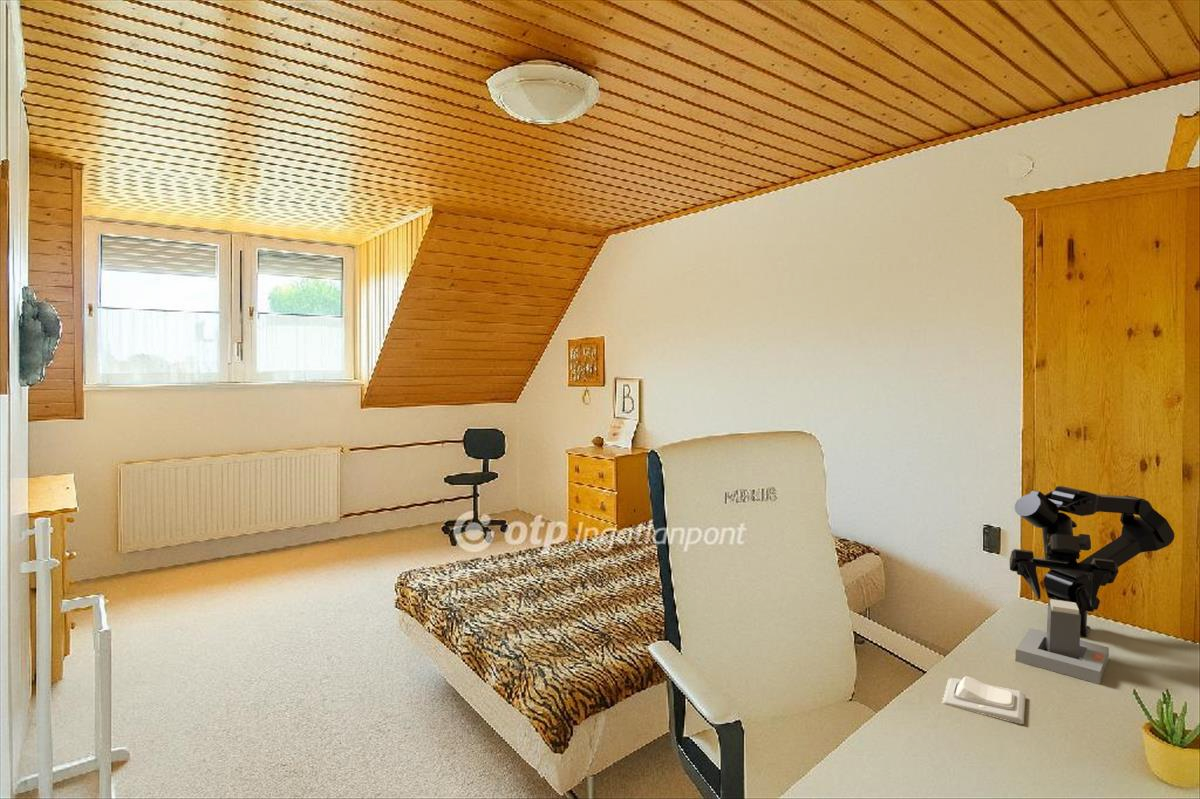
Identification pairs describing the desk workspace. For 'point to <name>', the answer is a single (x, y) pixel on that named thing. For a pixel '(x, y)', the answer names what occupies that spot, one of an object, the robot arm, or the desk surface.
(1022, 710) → the light switch
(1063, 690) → the desk surface
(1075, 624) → the plug
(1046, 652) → the socket plate
